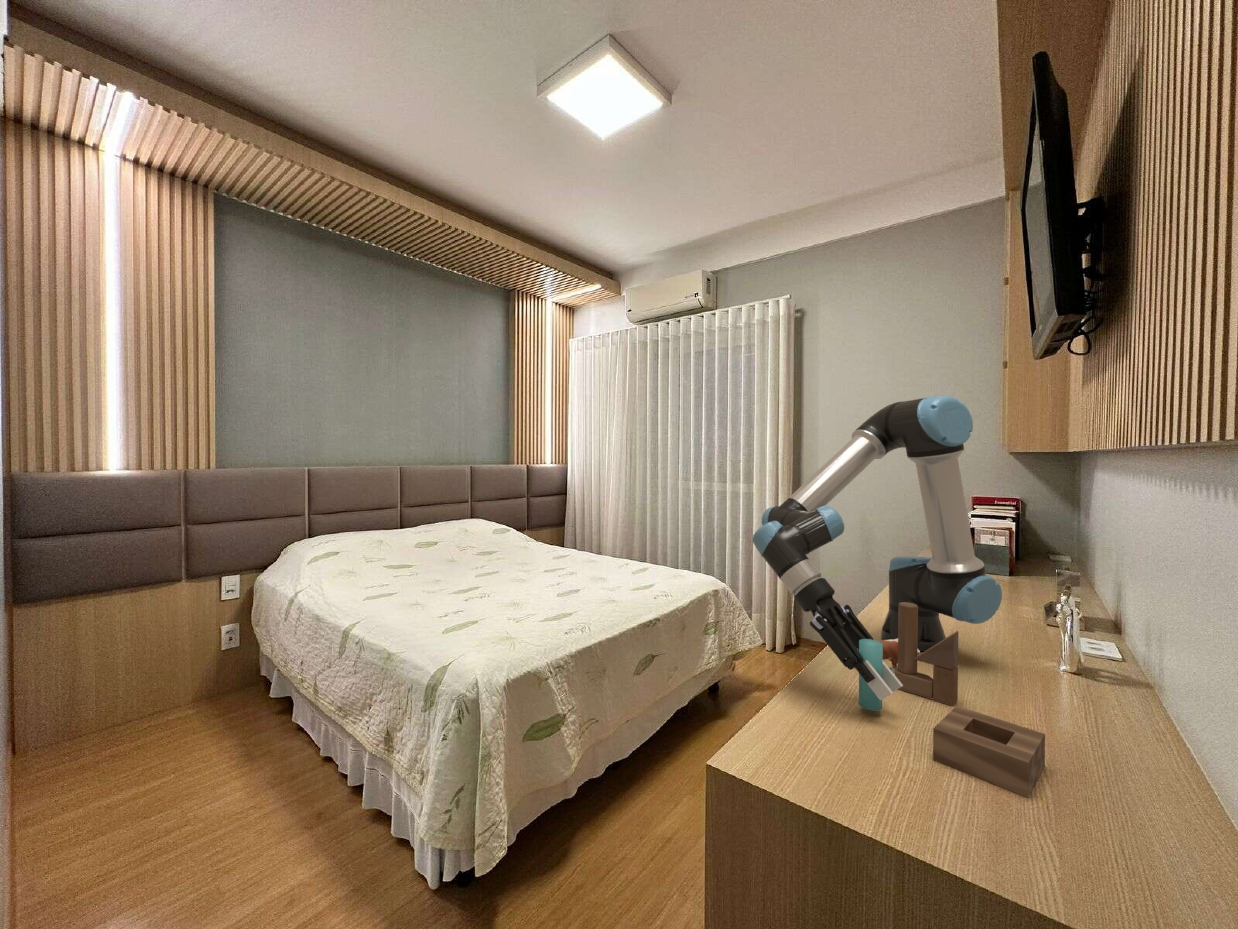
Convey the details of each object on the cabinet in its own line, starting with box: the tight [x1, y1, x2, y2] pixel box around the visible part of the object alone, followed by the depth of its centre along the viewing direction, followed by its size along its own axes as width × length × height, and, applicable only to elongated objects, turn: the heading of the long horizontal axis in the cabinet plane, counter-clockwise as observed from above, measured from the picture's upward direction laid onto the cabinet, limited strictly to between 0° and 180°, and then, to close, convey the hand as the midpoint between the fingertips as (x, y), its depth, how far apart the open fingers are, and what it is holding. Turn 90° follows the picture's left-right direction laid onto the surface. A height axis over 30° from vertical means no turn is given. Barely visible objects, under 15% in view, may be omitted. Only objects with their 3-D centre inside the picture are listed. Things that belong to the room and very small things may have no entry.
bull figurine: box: [856, 638, 921, 674], centre depth 115 cm, size 4×13×8 cm, turn 71°
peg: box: [858, 639, 884, 712], centre depth 95 cm, size 4×4×12 cm
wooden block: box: [895, 602, 959, 707], centre depth 103 cm, size 4×11×18 cm, turn 42°
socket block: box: [932, 705, 1046, 798], centre depth 79 cm, size 12×12×5 cm
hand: (891, 692), depth 92 cm, fingers closed on peg, 4 cm apart
